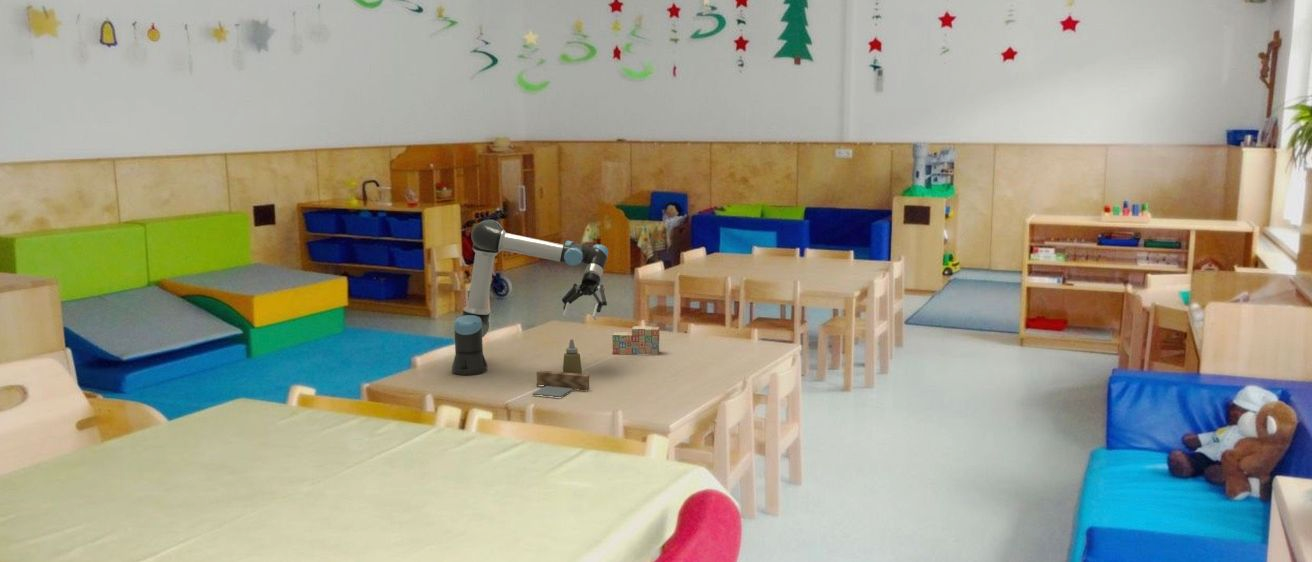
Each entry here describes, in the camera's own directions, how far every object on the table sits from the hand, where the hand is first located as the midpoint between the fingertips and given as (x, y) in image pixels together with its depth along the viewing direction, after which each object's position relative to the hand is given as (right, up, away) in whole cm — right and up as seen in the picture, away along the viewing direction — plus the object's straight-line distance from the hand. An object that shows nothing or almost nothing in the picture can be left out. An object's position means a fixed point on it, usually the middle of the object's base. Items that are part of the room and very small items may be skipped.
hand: (579, 317), depth 411 cm
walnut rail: (-5, -28, -17) cm, 33 cm away
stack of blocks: (+23, -19, +42) cm, 51 cm away
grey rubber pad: (-8, -29, -25) cm, 39 cm away
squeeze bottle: (-2, -27, -8) cm, 28 cm away
